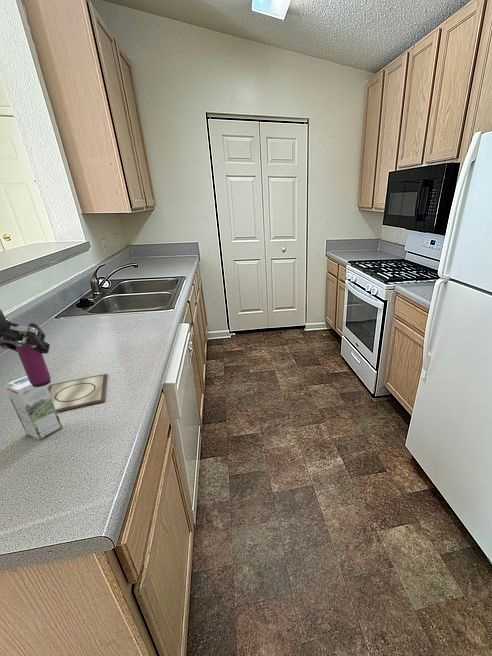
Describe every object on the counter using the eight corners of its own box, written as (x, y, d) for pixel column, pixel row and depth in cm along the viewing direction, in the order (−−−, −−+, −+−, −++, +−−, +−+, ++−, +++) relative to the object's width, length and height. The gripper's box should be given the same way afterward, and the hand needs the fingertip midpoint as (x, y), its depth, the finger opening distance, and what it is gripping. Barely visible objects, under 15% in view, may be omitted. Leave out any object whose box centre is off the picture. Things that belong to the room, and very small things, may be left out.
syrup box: (50, 421, 87) (29, 373, 80) (64, 427, 84) (43, 378, 78) (26, 434, 82) (2, 383, 76) (40, 441, 80) (16, 389, 73)
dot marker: (29, 389, 68) (9, 339, 64) (33, 382, 71) (14, 333, 66) (50, 385, 69) (32, 336, 65) (53, 378, 72) (36, 330, 68)
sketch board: (37, 417, 89) (36, 414, 88) (49, 386, 103) (49, 384, 103) (105, 402, 95) (104, 400, 94) (107, 374, 109) (107, 372, 109)
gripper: (7, 290, 54) (74, 332, 71) (-81, 292, 54) (7, 334, 70) (-5, 332, 52) (67, 365, 68) (-97, 334, 52) (-2, 367, 68)
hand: (36, 349), depth 69 cm, fingers closed on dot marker, 3 cm apart
